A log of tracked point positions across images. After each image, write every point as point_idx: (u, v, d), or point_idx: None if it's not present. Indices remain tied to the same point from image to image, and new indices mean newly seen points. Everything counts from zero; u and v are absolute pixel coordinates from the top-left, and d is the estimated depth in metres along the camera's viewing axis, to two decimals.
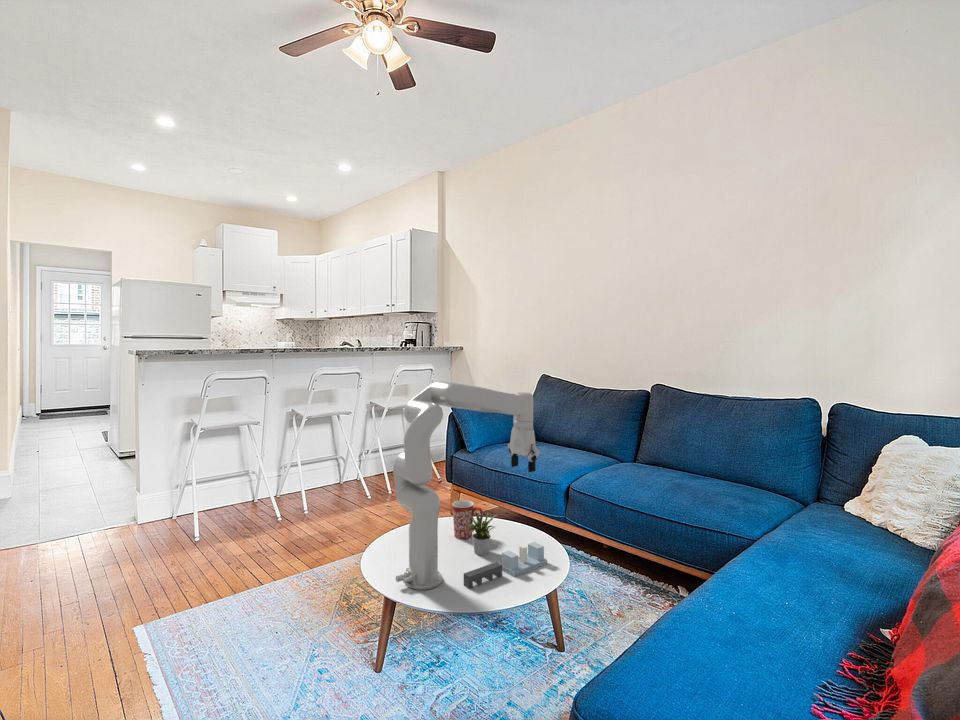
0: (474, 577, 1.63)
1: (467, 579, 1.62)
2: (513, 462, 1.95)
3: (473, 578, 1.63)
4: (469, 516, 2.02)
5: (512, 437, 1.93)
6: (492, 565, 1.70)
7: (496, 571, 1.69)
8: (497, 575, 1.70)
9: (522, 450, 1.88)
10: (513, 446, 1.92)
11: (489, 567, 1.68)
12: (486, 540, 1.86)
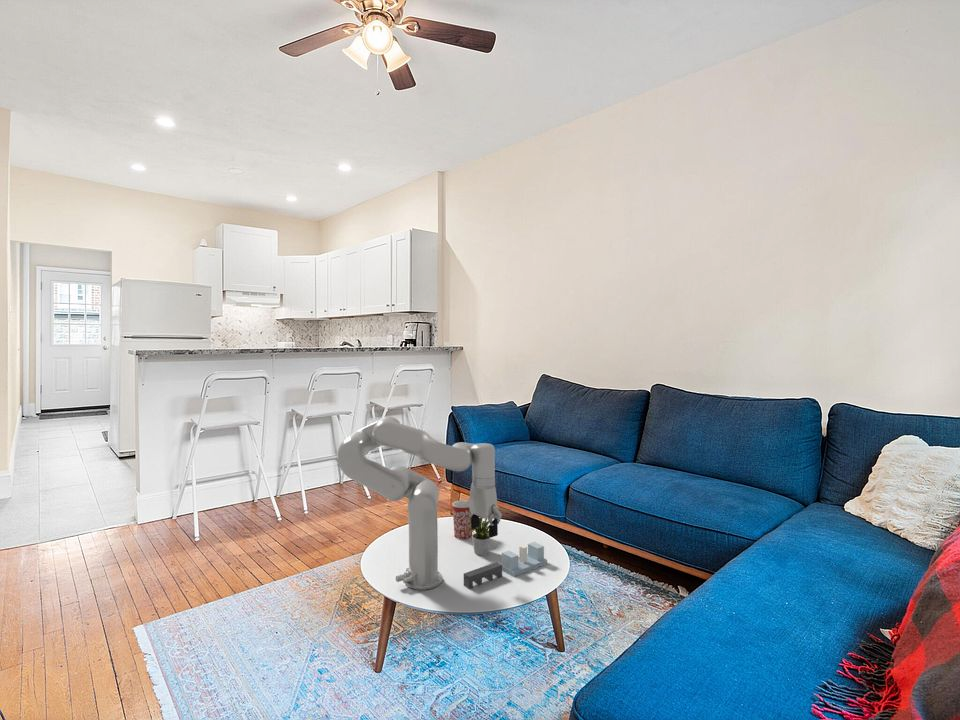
0: (474, 577, 1.63)
1: (467, 579, 1.62)
2: (473, 523, 1.69)
3: (473, 578, 1.63)
4: (469, 516, 2.02)
5: (471, 495, 1.67)
6: (492, 565, 1.70)
7: (496, 571, 1.69)
8: (497, 575, 1.70)
9: (482, 512, 1.62)
10: (472, 506, 1.66)
11: (489, 567, 1.68)
12: (486, 540, 1.86)
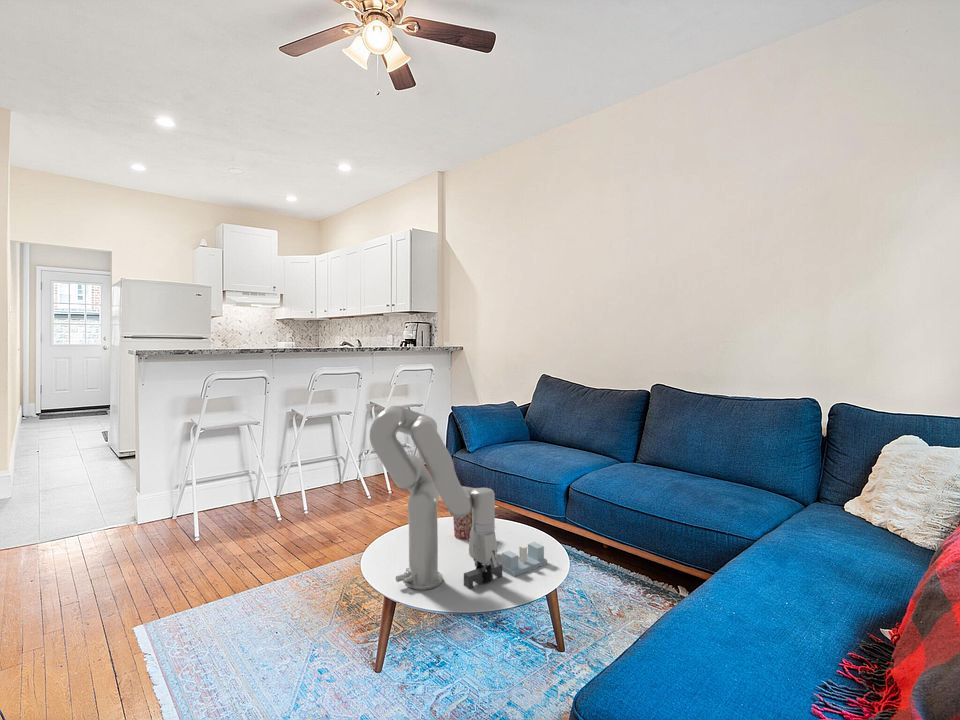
0: (474, 577, 1.63)
1: (467, 579, 1.62)
2: None
3: (474, 578, 1.63)
4: (469, 516, 2.02)
5: (471, 539, 1.67)
6: None
7: (496, 571, 1.69)
8: (497, 575, 1.70)
9: (481, 557, 1.63)
10: (472, 550, 1.67)
11: None
12: None
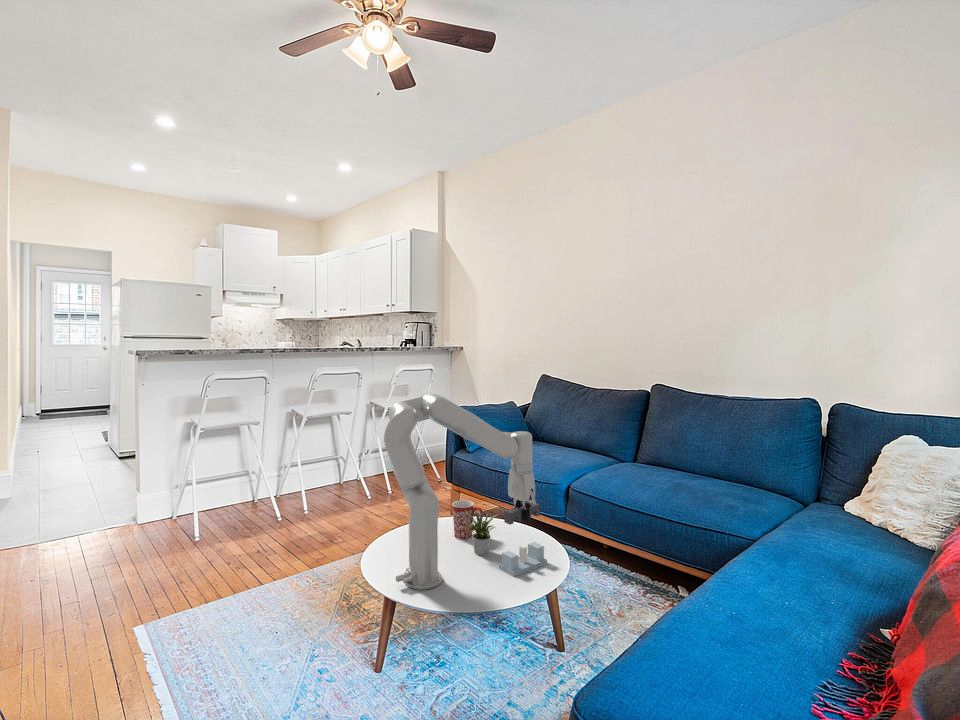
0: (514, 514, 1.73)
1: (508, 515, 1.72)
2: None
3: (514, 514, 1.72)
4: (469, 516, 2.02)
5: (510, 480, 1.77)
6: None
7: (534, 510, 1.78)
8: (535, 514, 1.79)
9: (521, 495, 1.73)
10: (511, 490, 1.77)
11: None
12: (486, 540, 1.86)
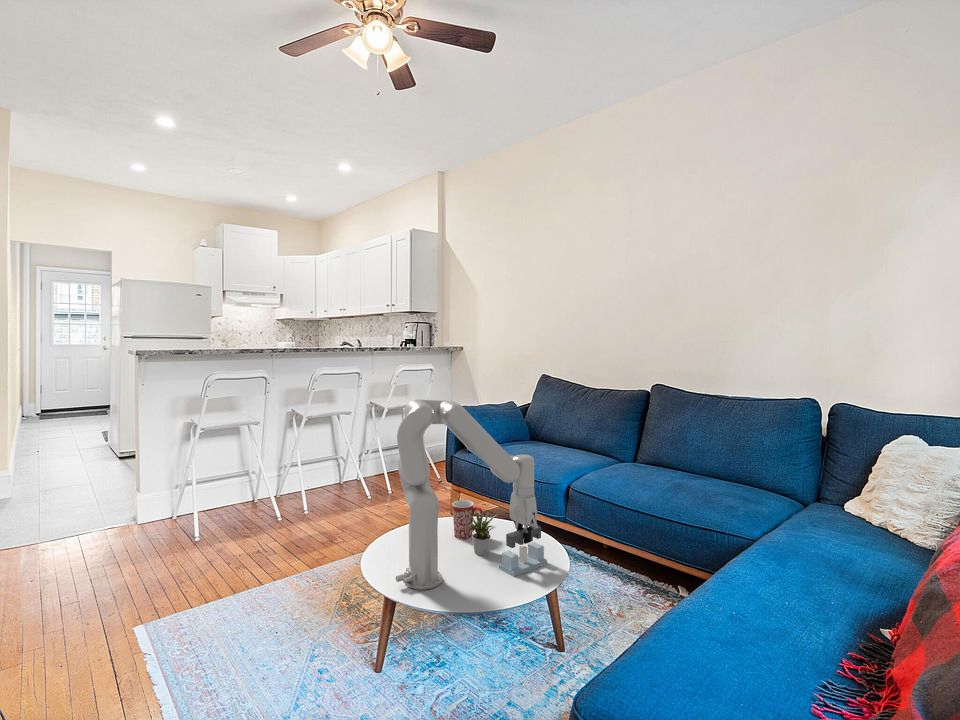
0: (516, 537, 1.74)
1: (510, 539, 1.73)
2: None
3: (516, 538, 1.73)
4: (469, 516, 2.02)
5: (512, 503, 1.78)
6: None
7: (536, 533, 1.79)
8: (536, 536, 1.80)
9: (522, 519, 1.74)
10: (513, 513, 1.78)
11: None
12: (486, 540, 1.86)
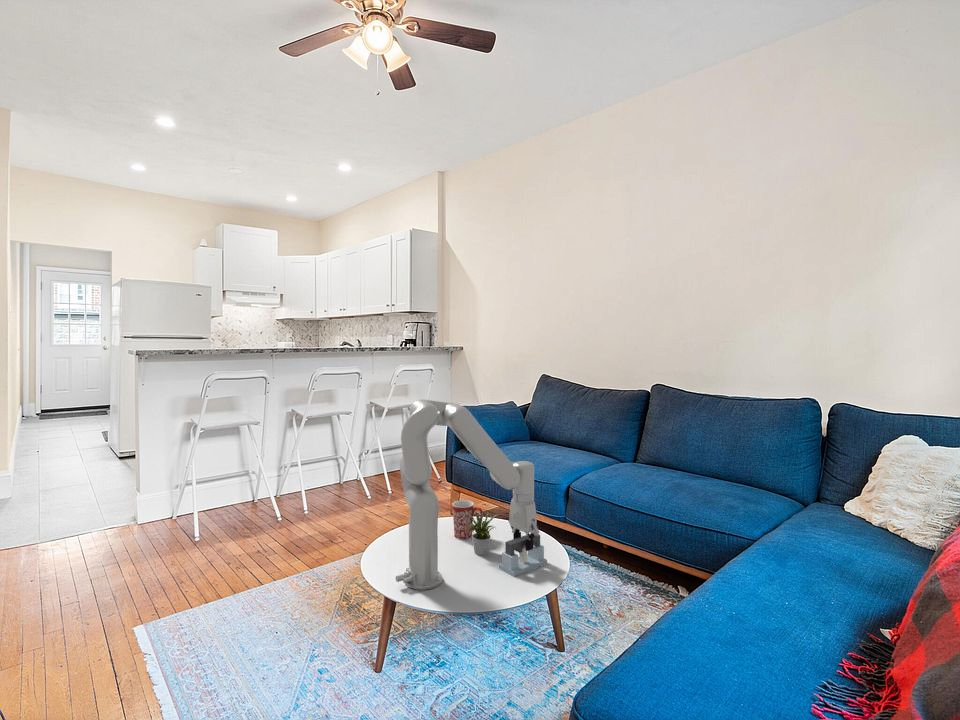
0: (515, 545, 1.74)
1: (509, 547, 1.73)
2: None
3: (515, 546, 1.73)
4: (469, 516, 2.02)
5: (511, 510, 1.78)
6: None
7: (535, 540, 1.79)
8: (535, 544, 1.80)
9: (522, 526, 1.74)
10: (512, 519, 1.78)
11: None
12: (486, 540, 1.86)
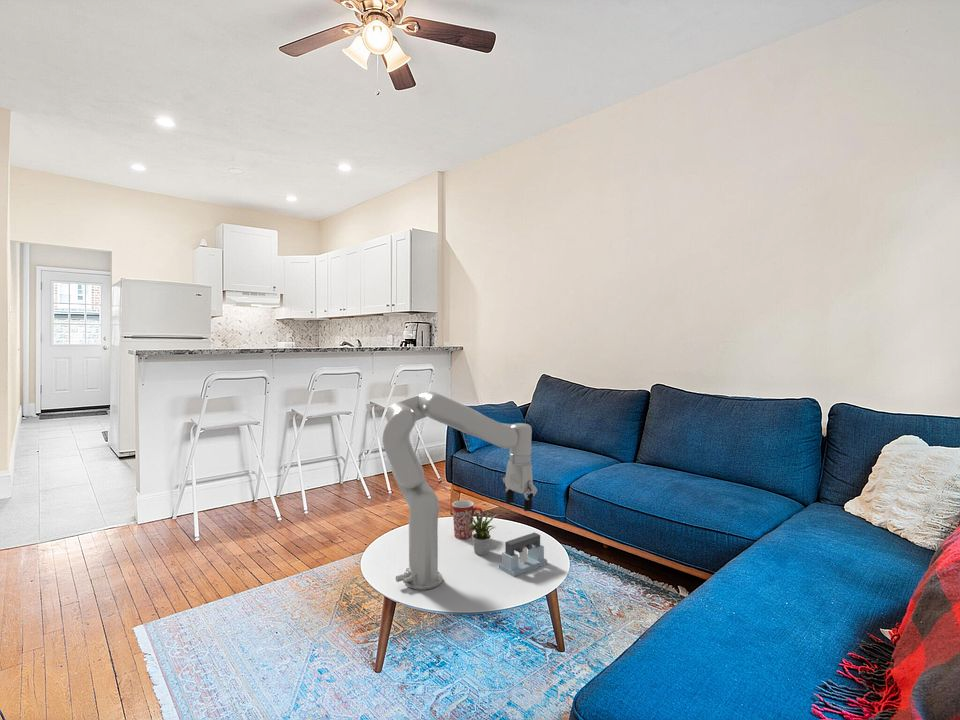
0: (515, 545, 1.74)
1: (509, 547, 1.73)
2: (508, 498, 1.80)
3: (515, 546, 1.73)
4: (469, 516, 2.02)
5: (508, 471, 1.78)
6: (531, 535, 1.80)
7: (535, 540, 1.79)
8: (535, 544, 1.80)
9: (518, 487, 1.73)
10: (508, 481, 1.77)
11: (528, 537, 1.79)
12: (486, 540, 1.86)
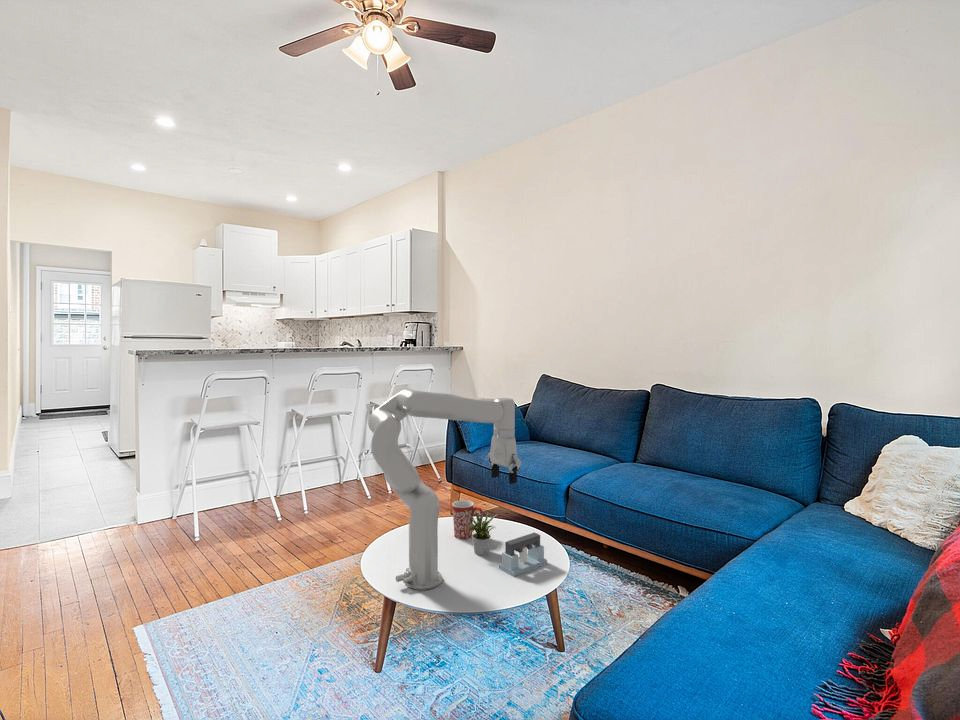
0: (515, 545, 1.74)
1: (509, 547, 1.73)
2: (493, 473, 1.82)
3: (515, 546, 1.73)
4: (469, 516, 2.02)
5: (492, 446, 1.79)
6: (531, 535, 1.80)
7: (535, 540, 1.79)
8: (535, 544, 1.80)
9: (502, 460, 1.75)
10: (493, 456, 1.79)
11: (528, 537, 1.79)
12: (486, 540, 1.86)
